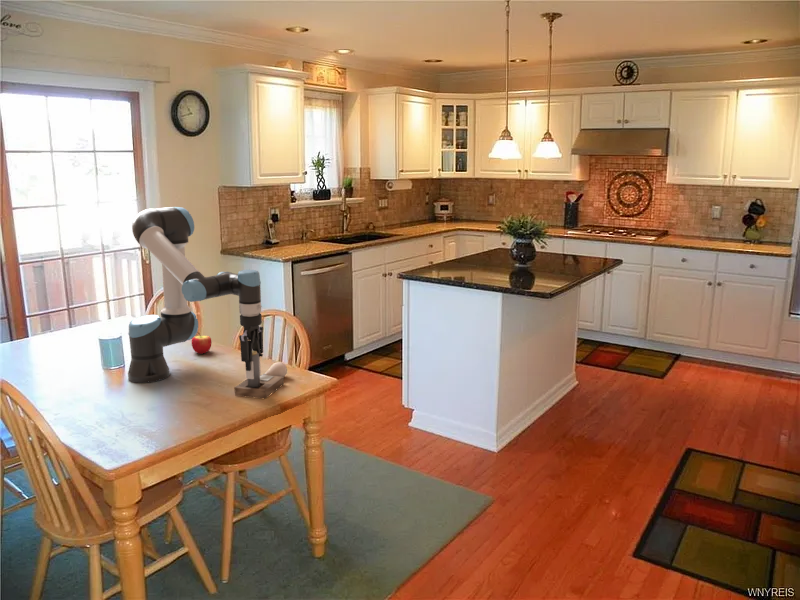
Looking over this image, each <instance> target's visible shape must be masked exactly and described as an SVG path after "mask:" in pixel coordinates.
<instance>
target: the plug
mask: <svg viewBox="0 0 800 600" xmlns="http://www.w3.org/2000/svg"><path fill="white" fill-rule="evenodd" d="M252 361H253V368H254V379H247V378H246V379H247V380H248V387H250V388H255V387H259V386H260V370H261V369H260V370H259V353H257V351H253V350H252Z"/></svg>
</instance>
